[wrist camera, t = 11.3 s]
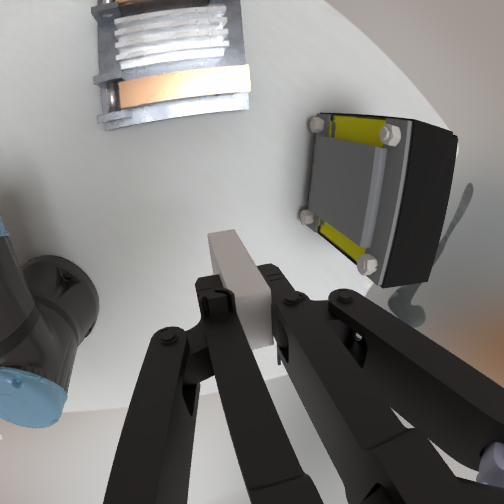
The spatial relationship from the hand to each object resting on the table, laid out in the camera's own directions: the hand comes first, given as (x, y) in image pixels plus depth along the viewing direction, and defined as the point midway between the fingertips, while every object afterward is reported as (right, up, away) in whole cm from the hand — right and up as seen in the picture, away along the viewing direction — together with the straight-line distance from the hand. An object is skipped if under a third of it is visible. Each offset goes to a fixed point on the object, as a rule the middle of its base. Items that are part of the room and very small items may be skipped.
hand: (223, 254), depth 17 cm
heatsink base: (-9, +27, +15) cm, 32 cm away
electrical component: (+14, +13, +28) cm, 34 cm away
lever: (-6, +18, +12) cm, 23 cm away
